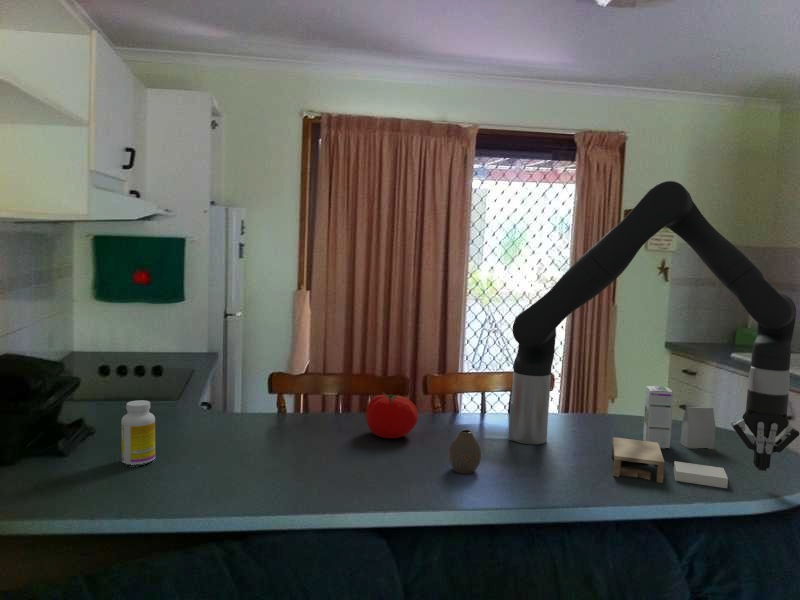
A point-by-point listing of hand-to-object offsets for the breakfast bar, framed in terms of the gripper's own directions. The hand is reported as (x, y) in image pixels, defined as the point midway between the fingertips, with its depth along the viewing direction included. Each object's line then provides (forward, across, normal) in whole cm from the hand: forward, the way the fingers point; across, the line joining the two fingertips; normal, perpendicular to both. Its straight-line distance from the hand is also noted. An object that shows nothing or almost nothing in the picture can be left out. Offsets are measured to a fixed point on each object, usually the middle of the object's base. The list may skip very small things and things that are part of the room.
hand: (761, 469), depth 136 cm
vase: (+3, -61, -15) cm, 63 cm away
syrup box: (+4, -19, +22) cm, 29 cm away
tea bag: (+4, -9, +25) cm, 27 cm away
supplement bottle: (+3, -127, -37) cm, 132 cm away
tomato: (+3, -83, +2) cm, 83 cm away
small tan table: (+4, -25, +1) cm, 25 cm away
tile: (+4, -12, 0) cm, 12 cm away
